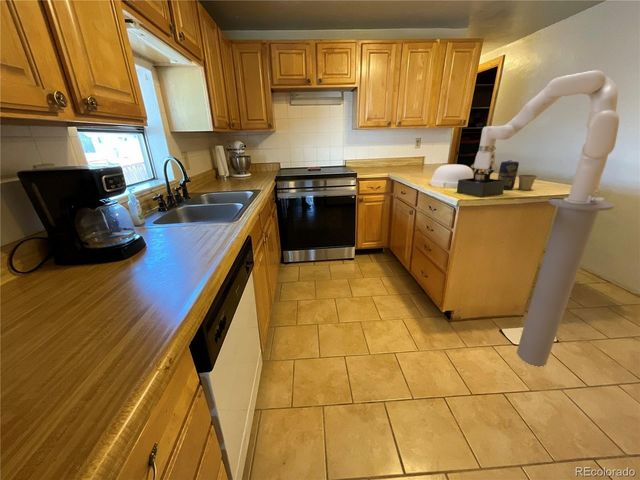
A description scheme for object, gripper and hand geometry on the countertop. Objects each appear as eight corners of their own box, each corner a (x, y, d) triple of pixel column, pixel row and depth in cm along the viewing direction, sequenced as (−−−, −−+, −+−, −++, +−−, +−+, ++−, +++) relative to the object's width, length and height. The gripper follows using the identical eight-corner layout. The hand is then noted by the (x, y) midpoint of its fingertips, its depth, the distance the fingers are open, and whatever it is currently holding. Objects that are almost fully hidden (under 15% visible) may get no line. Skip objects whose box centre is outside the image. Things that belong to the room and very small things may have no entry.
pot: (489, 184, 159) (491, 171, 157) (481, 185, 157) (483, 172, 154) (479, 182, 165) (481, 170, 163) (471, 183, 163) (473, 171, 160)
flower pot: (531, 191, 161) (535, 177, 158) (513, 189, 168) (516, 175, 165) (535, 189, 167) (539, 175, 164) (517, 187, 173) (520, 174, 170)
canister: (497, 189, 170) (503, 160, 163) (494, 187, 178) (499, 159, 171) (515, 190, 166) (521, 160, 160) (511, 187, 174) (517, 159, 168)
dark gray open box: (502, 193, 158) (505, 180, 155) (481, 197, 152) (483, 183, 150) (476, 189, 174) (478, 177, 171) (456, 192, 168) (458, 179, 165)
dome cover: (440, 180, 215) (442, 162, 210) (480, 182, 195) (484, 163, 190) (421, 185, 195) (423, 166, 190) (465, 189, 174) (468, 167, 169)
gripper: (505, 149, 148) (499, 181, 154) (477, 148, 163) (473, 177, 169) (496, 149, 145) (489, 182, 152) (468, 149, 160) (464, 179, 167)
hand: (481, 179), depth 160 cm, fingers closed on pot, 6 cm apart
